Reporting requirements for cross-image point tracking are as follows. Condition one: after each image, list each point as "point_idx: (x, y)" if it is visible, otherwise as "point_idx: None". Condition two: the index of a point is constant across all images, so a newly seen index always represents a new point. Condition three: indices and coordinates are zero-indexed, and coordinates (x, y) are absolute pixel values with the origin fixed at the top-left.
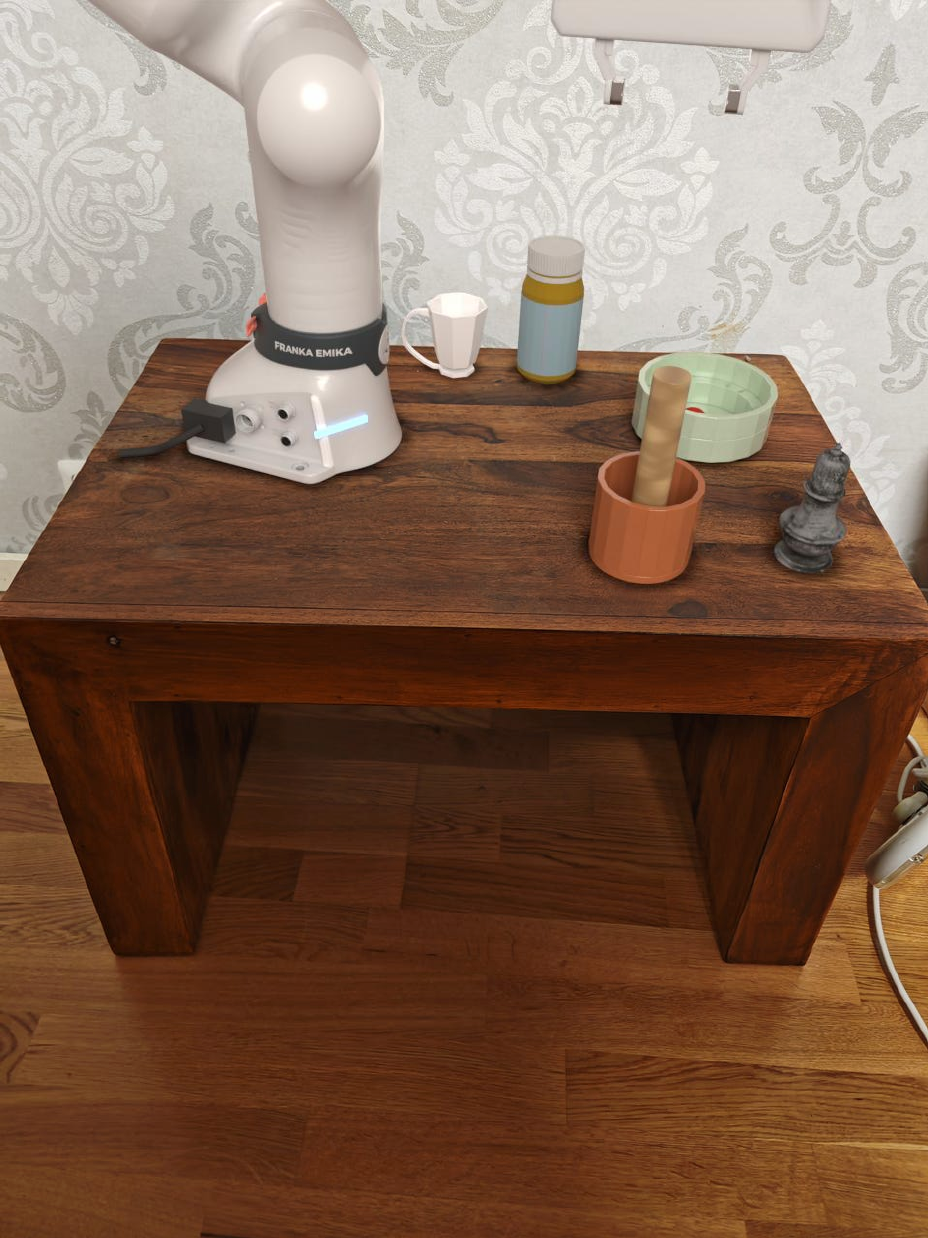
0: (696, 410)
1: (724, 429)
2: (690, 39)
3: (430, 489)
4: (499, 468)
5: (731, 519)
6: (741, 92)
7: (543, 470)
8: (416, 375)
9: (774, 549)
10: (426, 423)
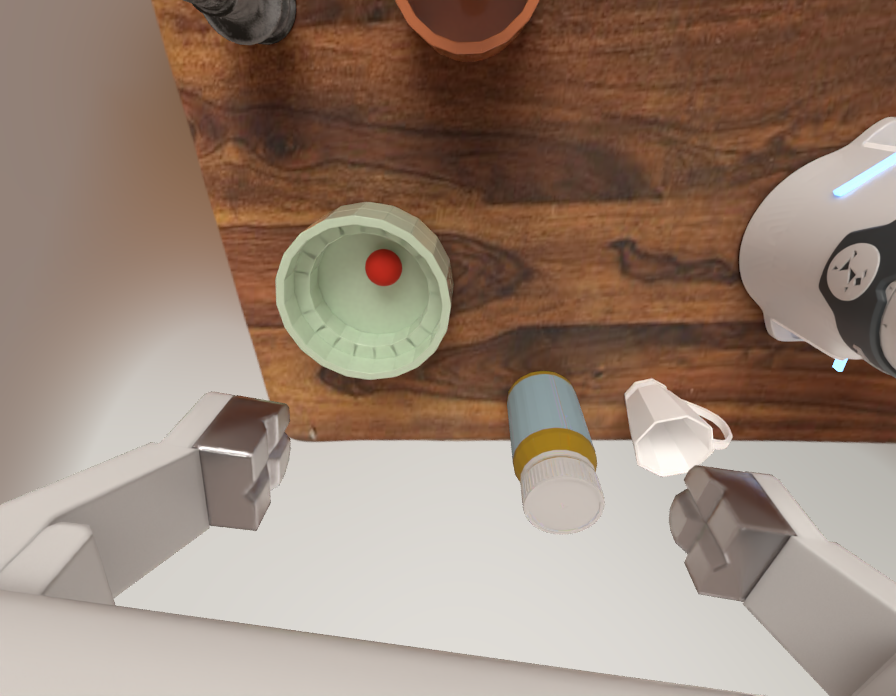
0: (378, 271)
1: (346, 213)
2: (475, 681)
3: (724, 122)
4: (625, 181)
5: (345, 84)
6: (193, 441)
7: (570, 181)
8: (695, 381)
9: (294, 8)
10: (701, 278)
